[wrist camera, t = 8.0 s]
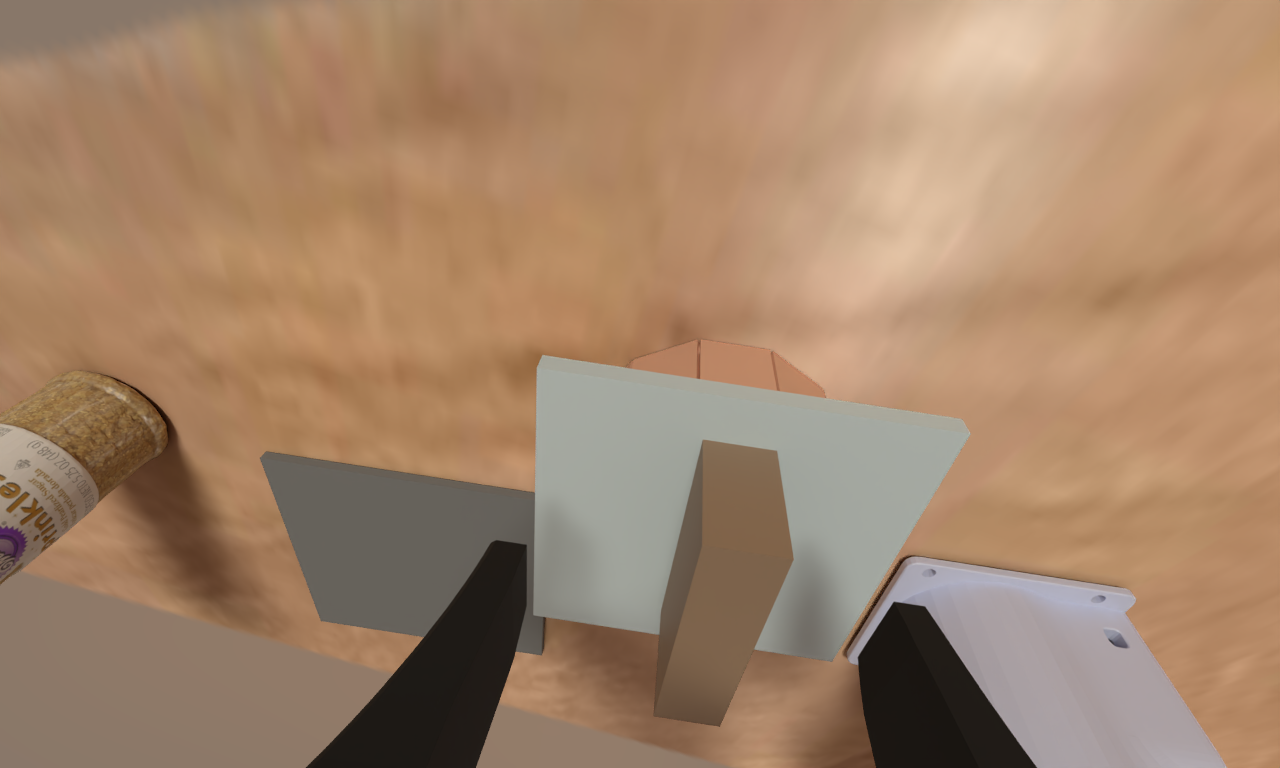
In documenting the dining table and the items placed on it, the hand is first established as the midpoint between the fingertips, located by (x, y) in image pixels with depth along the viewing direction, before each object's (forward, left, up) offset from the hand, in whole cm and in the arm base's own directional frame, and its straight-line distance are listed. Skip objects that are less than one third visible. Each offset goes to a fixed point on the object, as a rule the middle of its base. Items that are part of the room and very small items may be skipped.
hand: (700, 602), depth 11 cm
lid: (-1, +4, -5) cm, 7 cm away
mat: (+11, +14, -9) cm, 20 cm away
